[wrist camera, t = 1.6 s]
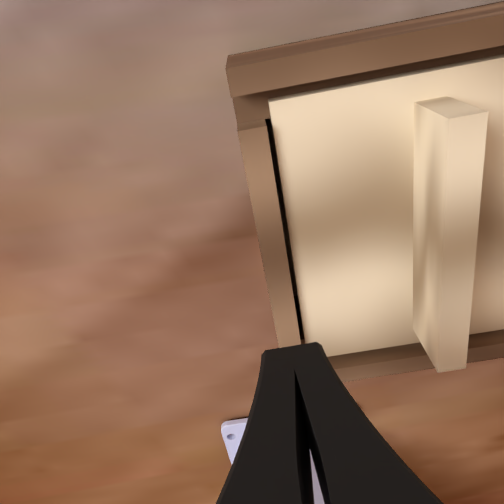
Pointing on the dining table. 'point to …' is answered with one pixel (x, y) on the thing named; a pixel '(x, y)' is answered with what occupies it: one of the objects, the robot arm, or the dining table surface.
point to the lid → (397, 208)
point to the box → (328, 75)
